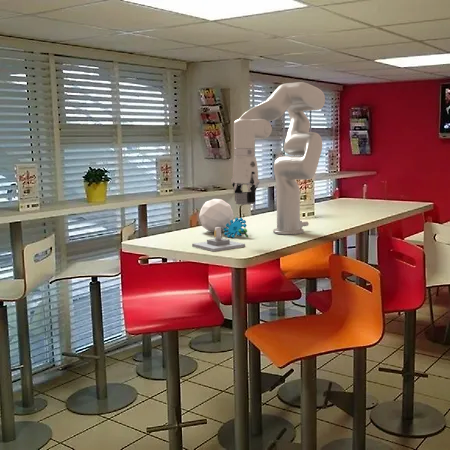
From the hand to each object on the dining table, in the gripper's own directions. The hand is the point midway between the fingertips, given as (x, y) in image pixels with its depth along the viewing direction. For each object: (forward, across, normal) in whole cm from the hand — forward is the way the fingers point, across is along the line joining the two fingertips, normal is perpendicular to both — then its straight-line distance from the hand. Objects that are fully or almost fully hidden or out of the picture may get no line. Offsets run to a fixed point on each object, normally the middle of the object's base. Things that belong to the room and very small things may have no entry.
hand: (244, 201), depth 219 cm
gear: (+16, +16, -7) cm, 24 cm away
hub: (+1, 0, 0) cm, 1 cm away
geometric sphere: (+16, +32, -9) cm, 36 cm away
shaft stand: (+16, +3, +10) cm, 19 cm away
